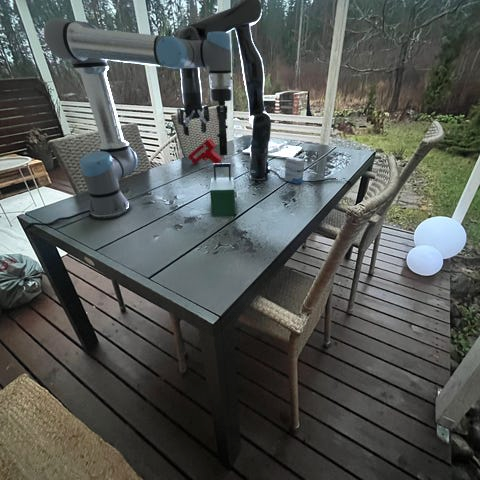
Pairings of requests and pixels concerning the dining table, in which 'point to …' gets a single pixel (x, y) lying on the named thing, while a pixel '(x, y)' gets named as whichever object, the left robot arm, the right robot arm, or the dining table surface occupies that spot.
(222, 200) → the chest
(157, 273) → the dining table surface
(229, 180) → the lid
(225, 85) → the left robot arm
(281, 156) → the relief map
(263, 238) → the dining table surface
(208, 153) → the toy gun
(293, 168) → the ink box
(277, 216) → the dining table surface
